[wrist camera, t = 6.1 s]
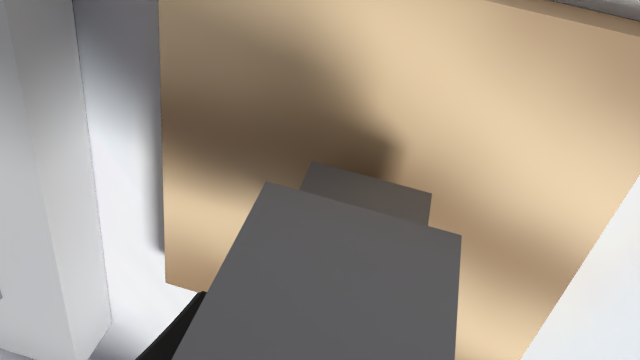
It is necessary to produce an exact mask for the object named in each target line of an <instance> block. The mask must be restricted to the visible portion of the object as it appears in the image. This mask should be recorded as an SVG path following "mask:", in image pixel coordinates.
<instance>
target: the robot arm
mask: <svg viewBox="0 0 640 360" xmlns="http://www.w3.org/2000/svg"><path fill="white" fill-rule="evenodd" d="M206 294H207V292H205V291H201V292H199V293H197V294H196V295H195V297H194V298H193V299H192V300H191V301H190V303H189V304H188V305H187V306H186V307H185V308H184V310H183V311H182V312H181V313H180V314H179V315H178V316H177V317H176V318H175V320H174V321H173V322H172V323H171V324H170V325H169V326H168V327H167V328H166V329H165V330H164V331H163V332H162V333H161V334H160V335H159V337H158V338H157V339H156V340H155V341H154V342H153V343H152V344H151V345H150V346H149V347H148V348H147V349H146V350H145V351H144V352H143V353H142V354H141V355H140V356H138V357H137V358H136V359H135V360H172V358H173V356H174V354H175V352H176V350H177V348H178V346H179V345H180V343H181V341H182V339H183V337H184V335H185V333H186V331H187V329H188V328H189V326H190V324H191V322H192V320H193V318H194V316H195V314H196V312H197V311H198V309H199V307H200V305H201V303H202V301H203V299H204V297H205V295H206Z"/></svg>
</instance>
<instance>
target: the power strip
mask: <svg viewBox="0 0 640 360" xmlns="http://www.w3.org/2000/svg"><path fill="white" fill-rule="evenodd" d="M111 324H112V320H111V312H110V303H109V295H108V287H107V279H106V271H105V263H104V255H103V247H102V239H101V231H100V223H99V215H98V206H97V198H96V190H95V182H94V174H93V166H92V158H91V150H90V142H89V134H88V126H87V117H86V109H85V101H84V93H83V85H82V77H81V69H80V61H79V53H78V45H77V37H76V28H75V20H74V12H73V4H72V0H0V349H3V350H7V351H10V352H13V353H16V354H19V355H22V356H25V357H29V358H32V359H35V360H88V359H89V357H90V356H91V354H92V353H93V351H94V350H95V348H96V347H97V345H98V344H99V342H100V341H101V339H102V338H103V336H104V335H105V333H106V332H107V330H108V329H109V327H110V326H111Z"/></svg>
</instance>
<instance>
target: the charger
mask: <svg viewBox="0 0 640 360" xmlns="http://www.w3.org/2000/svg"><path fill="white" fill-rule="evenodd" d="M431 199H432V193H429V192H425V191H421V190H418V189H414V188H410V187H406V186H403V185H399V184H395V183H392V182H388V181H384V180H381V179H377V178H373V177H370V176H366V175H362V174H358V173H355V172H351V171H347V170H344V169H340V168H336V167H333V166H329V165H325V164H322V163H318V162H314V161H312V162H311V164H310V167H309V169H308V171H307V173H306V176H305V178H304V180H303V182H302V185H301V187H300V189H299V190H296V189H293V188H289V187H286V186H282V185H278V184H275V183H271V182H268V181H266V182H265V184H264V186H263V188H262V190H261V192H260V193H259V195H258V197H257V199H256V201H255V203H254V205H253V207H252V209H251V210H250V212H249V214H248V216H247V218H246V220H245V222H244V224H243V226H242V227H241V229H240V231H239V233H238V235H237V237H236V239H235V241H234V243H233V244H232V246H231V248H230V250H229V252H228V254H227V256H226V258H225V260H224V261H223V263H222V265H221V267H220V269H219V271H218V273H217V275H216V277H215V278H214V280H213V282H212V284H211V286H210V288H209V290H208V292H207V294H206V295H205V297H204V299H203V301H202V303H201V305H200V307H199V309H198V311H197V312H196V314H195V316H194V318H193V320H192V322H191V324H190V326H189V328H188V329H187V331H186V333H185V335H184V337H183V339H182V341H181V343H180V345H179V346H178V348H177V350H176V352H175V354H174V356H173V358H172V360H455V346H456V329H457V311H458V294H459V276H460V258H461V241H462V235H459V234H456V233H452V232H448V231H445V230H441V229H438V228H434V227H430V226H428V222H429V214H430V206H431Z"/></svg>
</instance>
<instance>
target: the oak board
mask: <svg viewBox="0 0 640 360" xmlns="http://www.w3.org/2000/svg"><path fill="white" fill-rule="evenodd" d="M158 11H159V49H160V87H161V126H162V164H163V202H164V241H165V279H166V283H168V284H172V285H175V286H178V287H182V288H185V289H188V290H192V291H195V292H198V293H199V292H201V291H205V292H208V290H209V288H210V286H211V284H212V282H213V280H214V278H215V277H216V275H217V273H218V271H219V269H220V267H221V265H222V263H223V261H224V260H225V258H226V256H227V254H228V252H229V250H230V248H231V246H232V244H233V243H234V241H235V239H236V237H237V235H238V233H239V231H240V229H241V227H242V226H243V224H244V222H245V220H246V218H247V216H248V214H249V212H250V210H251V209H252V207H253V205H254V203H255V201H256V199H257V197H258V195H259V193H260V192H261V190H262V188H263V186H264V184H265V182H266V181H268V182H271V183H275V184H278V185H282V186H286V187H289V188H293V189H296V190H299V189H300V187H301V185H302V182H303V180H304V178H305V176H306V173H307V171H308V169H309V167H310V164H311V162H312V161H314V162H318V163H322V164H325V165H329V166H333V167H336V168H340V169H344V170H347V171H351V172H355V173H358V174H362V175H366V176H370V177H373V178H377V179H381V180H384V181H388V182H392V183H395V184H399V185H403V186H406V187H410V188H414V189H418V190H421V191H425V192H429V193H432V199H431V206H430V214H429V222H428V226H430V227H434V228H438V229H441V230H445V231H448V232H452V233H456V234H459V235H462V241H461V258H460V276H459V294H458V311H457V329H456V346H455V360H520V359H521V358H522V356H523V354H524V353H525V351H526V350H527V348H528V347H529V345H530V344H531V342H532V341H533V339H534V337H535V336H536V334H537V333H538V331H539V330H540V328H541V327H542V325H543V324H544V322H545V320H546V319H547V317H548V316H549V314H550V313H551V311H552V310H553V308H554V306H555V305H556V303H557V302H558V300H559V299H560V297H561V296H562V294H563V293H564V291H565V289H566V288H567V286H568V285H569V283H570V282H571V280H572V279H573V277H574V276H575V274H576V272H577V271H578V269H579V268H580V266H581V265H582V263H583V262H584V260H585V259H586V257H587V255H588V254H589V252H590V251H591V249H592V248H593V246H594V245H595V243H596V242H597V240H598V238H599V237H600V235H601V234H602V232H603V231H604V229H605V228H606V226H607V224H608V223H609V221H610V220H611V218H612V217H613V215H614V214H615V212H616V211H617V209H618V207H619V206H620V204H621V203H622V201H623V200H624V198H625V197H626V195H627V194H628V192H629V190H630V189H631V187H632V186H633V184H634V183H635V181H636V180H637V178H638V177H639V175H640V21H635V20H631V19H627V18H622V17H618V16H614V15H610V14H605V13H601V12H597V11H593V10H588V9H584V8H580V7H575V6H571V5H567V4H563V3H558V2H554V1H550V0H158Z"/></svg>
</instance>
